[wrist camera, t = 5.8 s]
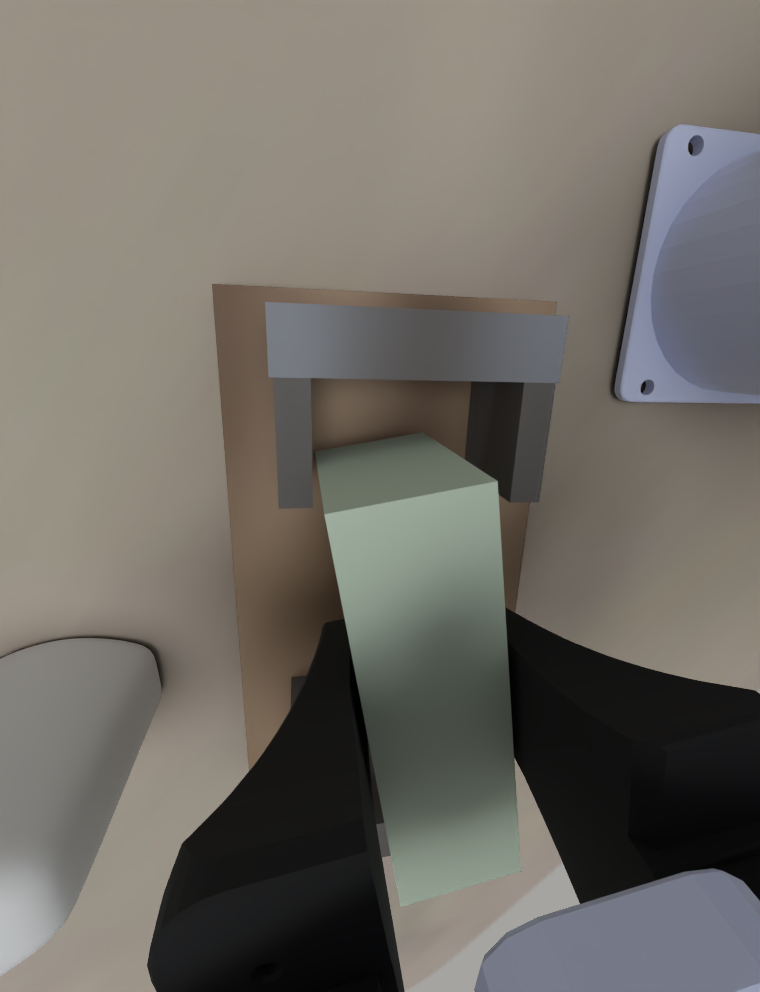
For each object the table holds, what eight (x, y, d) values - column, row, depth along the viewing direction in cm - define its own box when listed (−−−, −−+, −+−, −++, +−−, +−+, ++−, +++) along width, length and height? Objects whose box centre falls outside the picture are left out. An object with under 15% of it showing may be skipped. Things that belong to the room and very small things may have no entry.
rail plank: (422, 432, 12) (497, 480, 8) (454, 715, 16) (520, 871, 11) (314, 451, 12) (324, 514, 7) (369, 737, 15) (400, 907, 11)
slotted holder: (540, 304, 15) (637, 286, 10) (485, 742, 20) (534, 846, 16) (218, 288, 13) (178, 258, 9) (253, 770, 18) (239, 895, 14)
